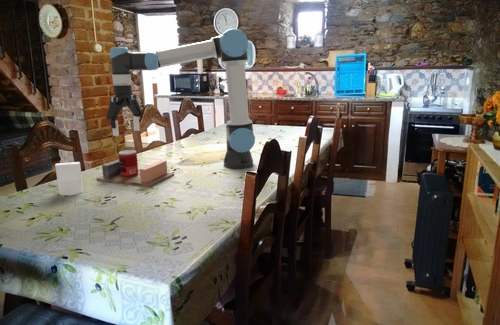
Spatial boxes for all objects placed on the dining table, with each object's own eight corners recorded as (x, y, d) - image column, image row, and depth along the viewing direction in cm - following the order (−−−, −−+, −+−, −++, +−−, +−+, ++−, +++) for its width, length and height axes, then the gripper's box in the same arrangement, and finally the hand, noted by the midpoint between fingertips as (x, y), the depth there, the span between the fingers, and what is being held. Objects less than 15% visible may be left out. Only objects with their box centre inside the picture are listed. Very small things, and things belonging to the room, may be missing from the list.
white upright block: (57, 196, 147) (52, 167, 144) (61, 189, 155) (57, 161, 152) (81, 194, 149) (78, 165, 146) (85, 187, 158) (81, 160, 155)
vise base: (174, 175, 174) (173, 160, 172) (151, 186, 158) (150, 171, 156) (123, 170, 184) (121, 156, 182) (96, 180, 167) (95, 165, 166)
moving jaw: (167, 172, 174) (166, 160, 172) (146, 182, 159) (145, 169, 158) (161, 172, 175) (160, 160, 173) (140, 182, 160) (139, 169, 159)
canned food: (141, 172, 175) (139, 149, 172) (134, 177, 167) (132, 153, 165) (125, 172, 176) (123, 149, 173) (117, 177, 168) (115, 153, 165)
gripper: (134, 83, 174) (138, 128, 179) (93, 86, 151) (99, 137, 157) (147, 83, 171) (151, 129, 176) (107, 86, 149) (113, 138, 154)
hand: (126, 133), depth 166 cm, fingers open, 13 cm apart
